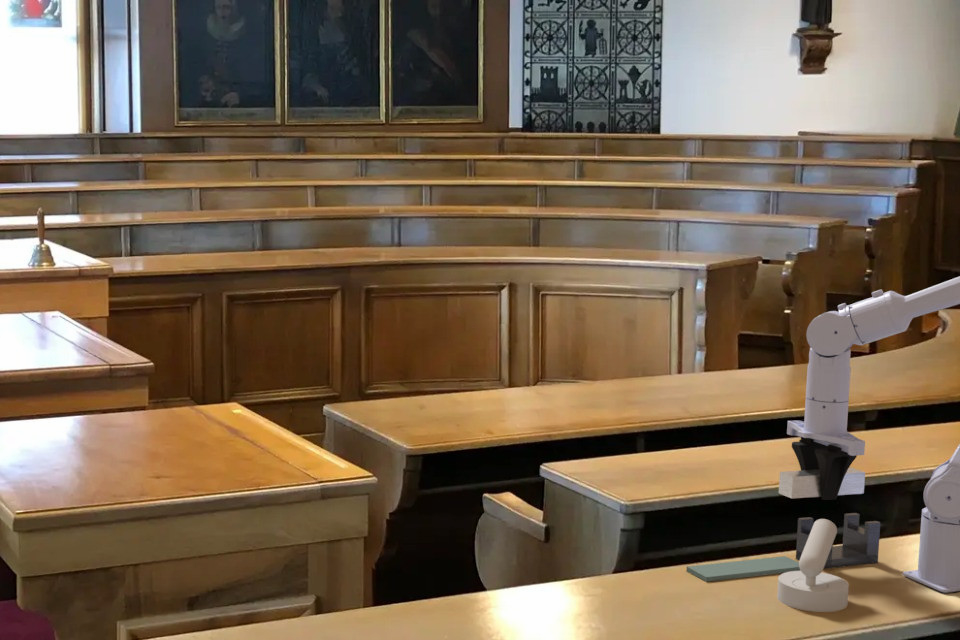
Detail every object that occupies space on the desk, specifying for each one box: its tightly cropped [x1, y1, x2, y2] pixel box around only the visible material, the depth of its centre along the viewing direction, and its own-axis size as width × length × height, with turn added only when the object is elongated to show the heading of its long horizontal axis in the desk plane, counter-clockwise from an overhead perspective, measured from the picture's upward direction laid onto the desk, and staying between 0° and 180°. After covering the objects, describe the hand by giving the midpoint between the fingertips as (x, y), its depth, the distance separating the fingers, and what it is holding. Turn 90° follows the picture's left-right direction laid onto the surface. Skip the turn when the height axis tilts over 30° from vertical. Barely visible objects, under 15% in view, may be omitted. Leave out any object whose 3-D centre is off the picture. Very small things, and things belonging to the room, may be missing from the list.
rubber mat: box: [685, 555, 801, 582], centre depth 173 cm, size 16×5×1 cm, turn 113°
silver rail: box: [778, 466, 866, 499], centre depth 176 cm, size 12×3×3 cm, turn 112°
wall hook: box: [776, 518, 849, 613], centre depth 161 cm, size 9×10×10 cm
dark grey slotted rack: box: [795, 512, 881, 570], centre depth 178 cm, size 10×5×6 cm, turn 113°
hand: (820, 496), depth 176 cm, fingers closed on silver rail, 3 cm apart
